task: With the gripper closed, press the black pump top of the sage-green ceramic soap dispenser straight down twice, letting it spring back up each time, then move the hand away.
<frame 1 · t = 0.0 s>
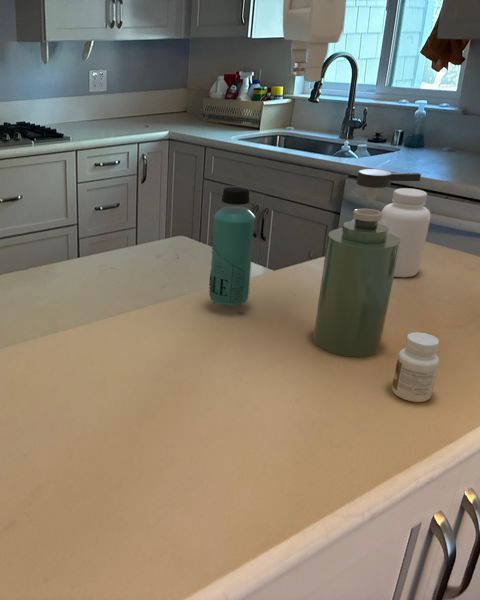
hand: (304, 78, 83), 36 cm above the worktop, tool pointing down, fingers open, 8 cm apart
pill bottle 2: (394, 271, 115), on the worktop
dispenser: (345, 342, 89), on the worktop
energy drink: (356, 288, 108), on the worktop
pump head: (386, 186, 80), point 23 cm above the worktop, slide at 0.1 cm
beverage bottle: (227, 308, 102), on the worktop
pill bottle: (410, 394, 77), on the worktop
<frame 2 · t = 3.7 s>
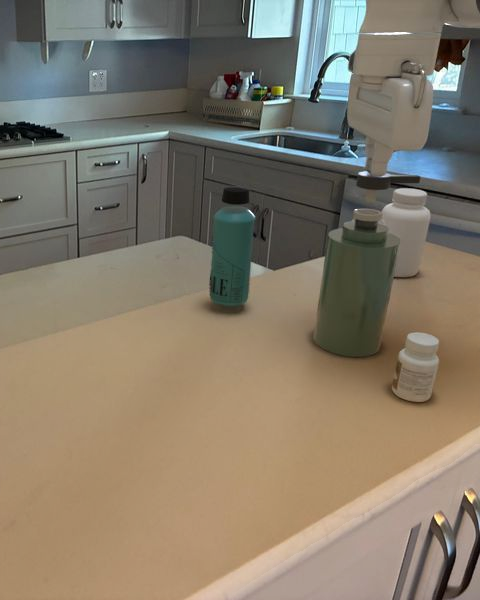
hand: (374, 174, 80), 25 cm above the worktop, tool pointing down, fingers closed, pressing on pump head
pump head: (386, 188, 80), point 23 cm above the worktop, slide at -0.2 cm, touching gripper
everything else where it was.
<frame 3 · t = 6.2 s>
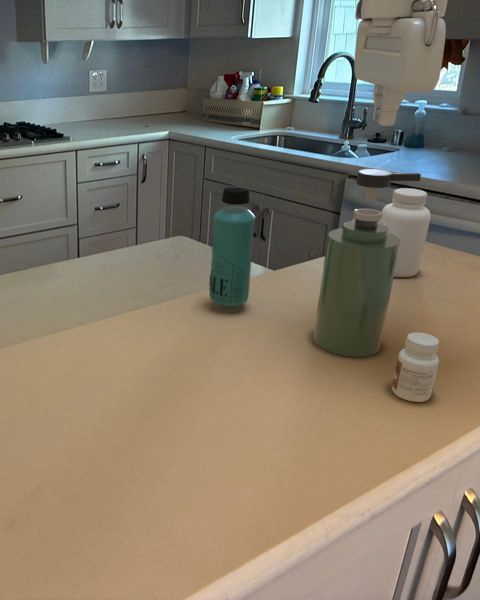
hand: (383, 124, 77), 31 cm above the worktop, tool pointing down, fingers closed
pump head: (386, 186, 80), point 23 cm above the worktop, slide at 0.1 cm
everything else where it was.
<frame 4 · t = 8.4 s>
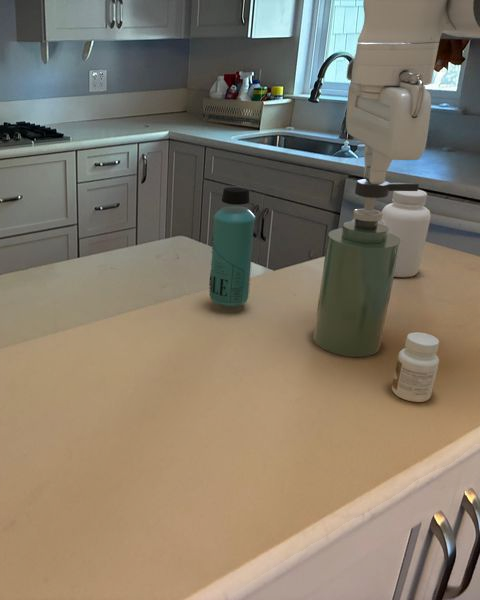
hand: (373, 181, 80), 24 cm above the worktop, tool pointing down, fingers closed, pressing on pump head
pump head: (385, 195, 80), point 22 cm above the worktop, slide at -1.2 cm, touching gripper
everything else where it was.
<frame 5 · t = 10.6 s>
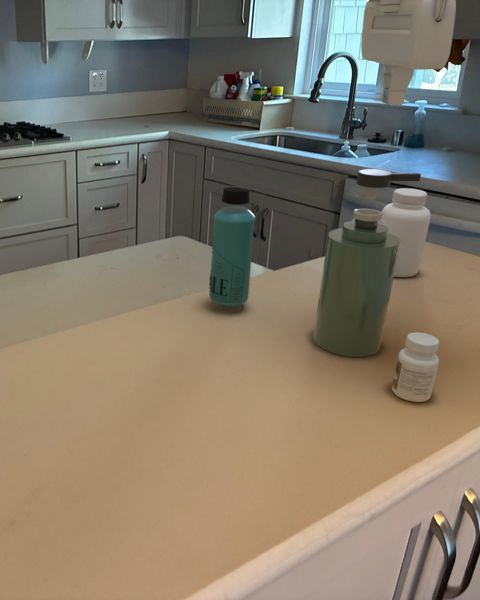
hand: (391, 104, 77), 33 cm above the worktop, tool pointing down, fingers closed
pump head: (386, 186, 80), point 23 cm above the worktop, slide at 0.1 cm
everything else where it was.
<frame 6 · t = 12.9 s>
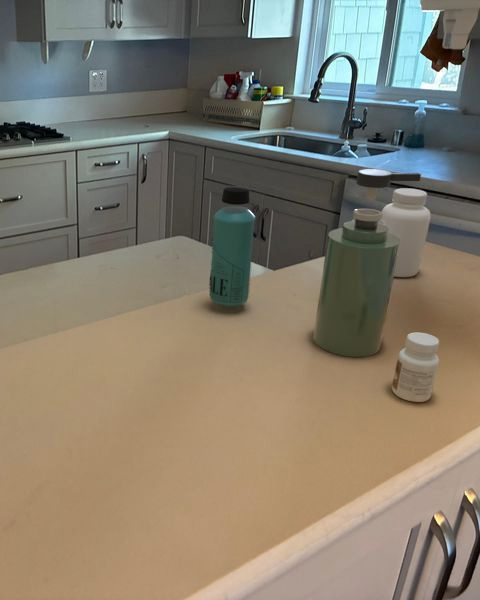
hand: (453, 48, 80), 39 cm above the worktop, tool pointing down, fingers closed
nothing on the worktop moved.
at the end: pump head pushed in 1.2 cm at the most during the clip, back to where it started at the end; pump head slide at 0.1 cm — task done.
